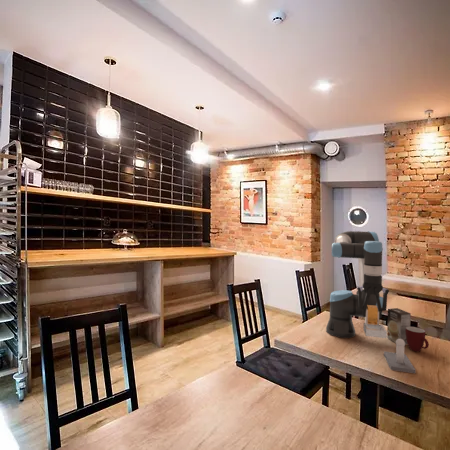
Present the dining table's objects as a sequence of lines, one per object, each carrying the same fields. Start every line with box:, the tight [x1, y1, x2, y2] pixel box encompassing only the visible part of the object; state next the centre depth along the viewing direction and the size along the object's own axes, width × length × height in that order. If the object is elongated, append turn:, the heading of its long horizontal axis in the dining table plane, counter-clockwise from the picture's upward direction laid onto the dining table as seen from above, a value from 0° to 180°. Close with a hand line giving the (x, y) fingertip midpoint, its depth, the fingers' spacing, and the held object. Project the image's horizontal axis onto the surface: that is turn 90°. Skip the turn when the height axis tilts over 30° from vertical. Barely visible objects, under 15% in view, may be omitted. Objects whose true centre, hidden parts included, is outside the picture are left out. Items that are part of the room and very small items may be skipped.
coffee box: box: [386, 307, 412, 346], centre depth 152 cm, size 9×6×16 cm
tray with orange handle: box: [363, 305, 388, 339], centre depth 131 cm, size 14×8×10 cm, turn 162°
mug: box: [406, 326, 430, 353], centre depth 140 cm, size 10×8×10 cm
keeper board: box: [383, 339, 416, 374], centre depth 127 cm, size 15×9×12 cm, turn 162°
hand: (371, 324), depth 136 cm, fingers closed on tray with orange handle, 4 cm apart
